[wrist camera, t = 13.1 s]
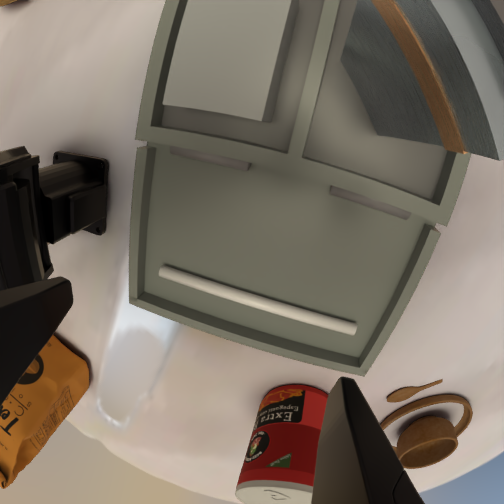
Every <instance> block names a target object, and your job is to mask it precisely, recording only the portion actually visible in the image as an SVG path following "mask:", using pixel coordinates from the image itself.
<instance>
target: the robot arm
mask: <svg viewBox="0 0 504 504" xmlns="http://www.w3.org/2000/svg"><path fill="white" fill-rule="evenodd" d="M38 163H40V161H39V155H35V156H31V154H29V153H28V152H27V150H26V148H25V146H21V147H17V148H12V149H8V150H5V151H1V152H0V407H1V405H2V404H3V402H4V401H5V399H6V398H7V396H8V395H9V393H10V392H11V391H12V389H13V388H14V386H15V385H16V383H17V382H18V381H19V379H20V378H21V376H22V375H23V374H24V372H25V371H26V370H27V368H28V367H29V366H30V364H31V363H32V362H33V360H34V359H35V358H36V356H37V355H38V354H39V352H40V351H41V350H42V349H43V347H44V346H45V345H46V343H47V342H48V341H49V339H50V338H51V337H52V335H53V334H54V332H55V331H56V329H57V328H58V326H59V325H60V323H61V322H62V320H63V319H64V317H65V316H66V314H67V313H68V311H69V310H70V308H71V307H72V304H73V294H72V286H71V282H70V281H69V280H68V279H66V278H64V277H56V278H51V279H48V277H49V276H50V275H51V274H52V272H53V271H54V269H53V265H52V263H51V260H50V255H49V250H48V244H50V243H51V244H55V243H56V242H58V241H60V240H61V239H63V238H65V237H67V236H69V235H70V234H75V233H76V232H78V231H80V230H85V231H88V232H90V233H93V234H96V235H102V234H103V233H104V232H105V219H106V193H107V176H108V162H107V160H106V159H103V158H98V157H92V156H86V155H81V154H75V153H69V152H63V151H58V152H55V153H54V156H53V165H51V166H47V167H44V168H40V169H39V165H38ZM101 163H102V164H103V168H102V166H101ZM99 228H100V230H99ZM311 504H425V503H424V501H423V500H422V498H421V497H420V495H419V494H418V492H417V490H416V489H415V487H414V485H413V483H412V482H411V480H410V478H409V476H408V474H407V473H406V471H405V470H404V467H403V465H402V464H401V462H400V460H399V458H398V456H397V454H396V453H395V451H394V449H393V447H392V445H391V444H390V442H389V440H388V438H387V436H386V435H385V433H384V431H383V429H382V427H381V426H380V424H379V422H378V420H377V419H376V417H375V415H374V413H373V411H372V410H371V408H370V406H369V404H368V403H367V401H366V399H365V397H364V396H363V394H362V392H361V390H360V389H359V387H358V385H357V383H356V382H355V380H354V379H351V378H347V377H340V378H339V379H338V381H337V382H336V384H335V385H334V387H333V388H332V390H331V392H330V393H329V395H328V398H327V403H326V408H325V413H324V418H323V423H322V428H321V432H320V437H319V442H318V449H317V459H316V468H315V477H314V485H313V493H312V500H311Z"/></svg>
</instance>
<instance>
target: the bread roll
mask: <svg viewBox="0 0 504 504" xmlns="http://www.w3.org/2000/svg"><path fill="white" fill-rule="evenodd" d="M14 1H17V0H0V7H1V6H4V5H7V4H10V3H12V2H14Z"/></svg>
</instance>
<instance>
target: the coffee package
mask: <svg viewBox="0 0 504 504" xmlns="http://www.w3.org/2000/svg"><path fill="white" fill-rule="evenodd" d="M88 388H89V369H88V367H87V363H86V362H85V361H84V360H83V359H81V358H80V357H78V356H77V355H75V354H74V353H73V352H72V351H71V350H69V349H68V348H67V347H65V346H64V345H63V344H62V343H61V342H60V341H59V340H58V339H57V338H56V337H55V336H54V335H52V337H51V338H50V339H49V341H48V342H47V343H46V345H45V346H44V347H43V349H42V350H41V351H40V352H39V354H38V355H37V356H36V358H35V359H34V360H33V362H32V363H31V364H30V366H29V367H28V368H27V370H26V371H25V372H24V374H23V375H22V376H21V378H20V379H19V381H18V382H17V383H16V385H15V386H14V388H13V389H12V391H11V392H10V393H9V395H8V396H7V398H6V399H5V401H4V402H3V404H2V405H1V407H0V487H1V488H3V489H4V488H6V487H8V486H9V485H10V484H11V483H13V481H14V480H15V478H16V477H17V475H18V473H19V472H20V471H22V470H23V469H24V468H25V466H26V465H28V464H29V463H30V462H31V461H32V460H33V458H34V457H35V456H36V455H37V454H38V453H39V452H40V450H41V449H42V448H43V447H44V445H45V444H46V443H47V441H48V439H49V438H50V436H51V435H52V434H53V433H54V432H55V431H56V429H57V428H58V426H59V425H60V424H61V423H62V422H63V420H64V419H65V418H66V417H67V415H68V414H69V413H70V412H71V410H72V409H73V408H74V407H75V406H76V404H77V403H78V402H79V400H80V399H81V398H82V396H83V395H84V394H85V392H86V391H87V390H88Z"/></svg>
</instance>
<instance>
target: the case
mask: <svg viewBox="0 0 504 504" xmlns="http://www.w3.org/2000/svg"><path fill="white" fill-rule="evenodd" d="M357 1H358V0H166V1H165V5H164V8H163V11H162V15H161V18H160V21H159V25H158V29H157V32H156V36H155V40H154V44H153V48H152V52H151V56H150V60H149V65H148V69H147V74H146V79H145V84H144V89H143V94H142V99H141V105H140V111H139V117H138V123H137V130H136V137H135V140H141V141H147V146H145V147H139V148H137V154H136V163H135V172H134V182H133V193H132V206H131V222H130V244H129V303H130V304H133V305H135V306H137V307H140V308H142V309H145V310H147V311H150V312H152V313H155V314H157V315H160V316H163V317H165V318H168V319H171V320H173V321H176V322H179V323H181V324H184V325H187V326H190V327H192V328H195V329H198V330H201V331H204V332H207V333H209V334H212V335H215V336H218V337H221V338H224V339H227V340H230V341H233V342H237V343H240V344H243V345H246V346H249V347H252V348H256V349H259V350H262V351H266V352H269V353H273V354H276V355H280V356H283V357H287V358H290V359H294V360H298V361H301V362H305V363H309V364H313V365H317V366H321V367H325V368H329V369H333V370H337V371H342V372H346V373H350V374H355V375H359V376H365V375H366V373H367V372H368V370H369V369H370V367H371V366H372V364H373V363H374V361H375V359H376V358H377V356H378V355H379V353H380V352H381V350H382V348H383V347H384V345H385V343H386V342H387V340H388V338H389V337H390V335H391V333H392V332H393V330H394V328H395V326H396V325H397V323H398V321H399V319H400V317H401V316H402V314H403V312H404V310H405V308H406V306H407V305H408V303H409V301H410V299H411V297H412V295H413V293H414V291H415V289H416V287H417V285H418V283H419V281H420V279H421V277H422V275H423V273H424V271H425V269H426V266H427V264H428V262H429V260H430V258H431V255H432V253H433V251H434V249H435V246H436V244H437V242H438V239H439V237H440V234H441V233H440V232H439V231H438V230H437V229H436V228H435V225H436V222H437V223H439V224H441V225H444V226H446V227H447V225H448V222H449V220H450V217H451V214H452V212H453V209H454V206H455V203H456V201H457V198H458V195H459V192H460V189H461V186H462V183H463V180H464V177H465V173H466V170H467V167H468V163H469V160H470V156H471V153H469V152H468V153H466V154H461V153H457V152H453V151H449V150H445V148H444V147H442V146H437V145H432V144H427V143H422V142H416V141H411V140H405V139H399V138H392V137H385V136H378V135H377V133H376V131H375V129H374V127H373V124H372V122H371V120H370V118H369V115H368V113H367V111H366V109H365V107H364V105H363V103H362V101H361V99H360V97H359V95H358V93H357V91H356V89H355V87H354V85H353V83H352V81H351V79H350V77H349V75H348V73H347V72H346V70H345V68H344V66H343V64H342V62H341V61H340V58H341V55H342V52H343V49H344V45H345V42H346V38H347V35H348V32H349V28H350V25H351V21H352V18H353V15H354V11H355V8H356V4H357Z"/></svg>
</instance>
